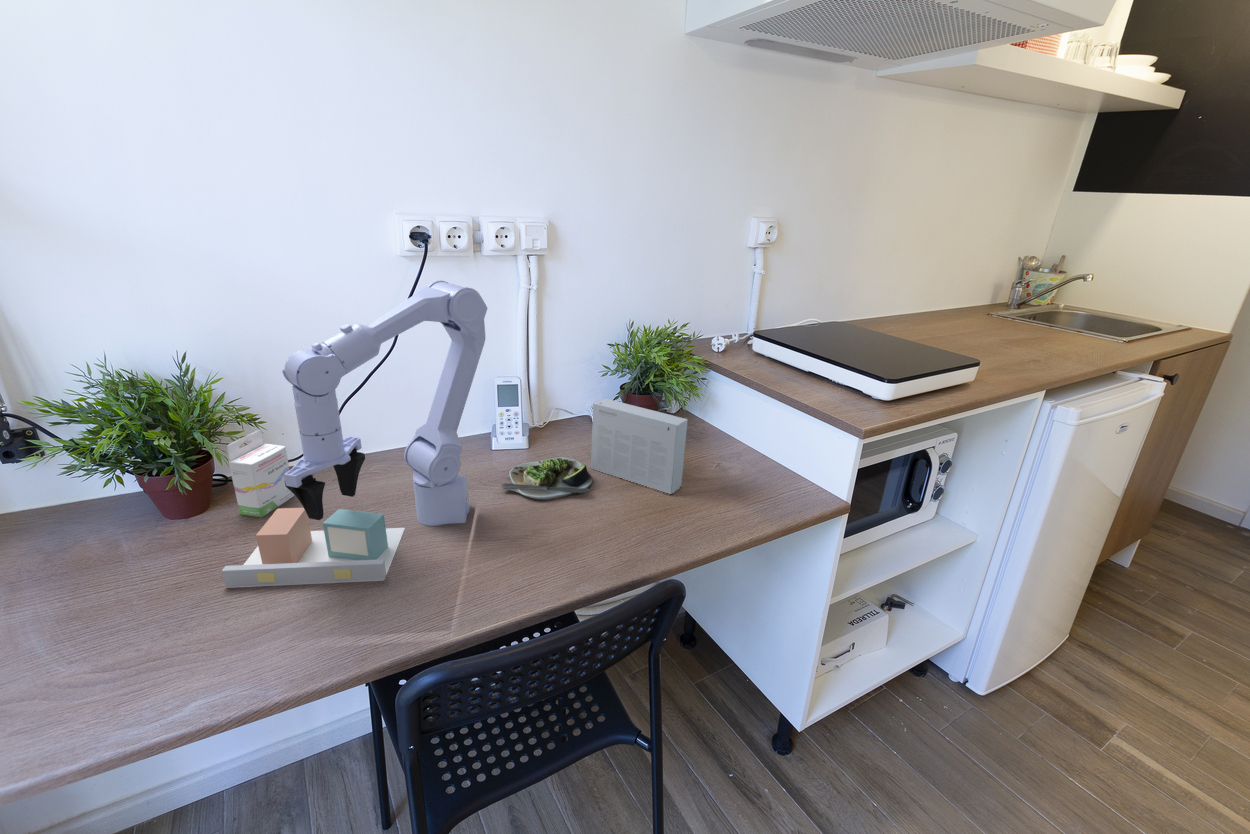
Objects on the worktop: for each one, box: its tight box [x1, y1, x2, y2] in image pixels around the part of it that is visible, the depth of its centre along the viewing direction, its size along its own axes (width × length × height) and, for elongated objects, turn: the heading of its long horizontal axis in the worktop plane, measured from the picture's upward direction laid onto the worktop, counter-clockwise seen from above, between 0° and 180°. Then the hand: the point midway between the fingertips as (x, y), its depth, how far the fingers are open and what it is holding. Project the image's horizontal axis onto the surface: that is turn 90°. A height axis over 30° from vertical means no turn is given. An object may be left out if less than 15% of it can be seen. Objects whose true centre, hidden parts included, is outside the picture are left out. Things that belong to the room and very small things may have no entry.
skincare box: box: [590, 398, 689, 495], centre depth 126 cm, size 21×6×16 cm, turn 58°
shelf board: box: [221, 527, 406, 589], centre depth 96 cm, size 23×15×4 cm, turn 98°
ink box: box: [226, 429, 295, 518], centre depth 108 cm, size 9×5×15 cm, turn 168°
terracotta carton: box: [255, 507, 312, 564], centre depth 95 cm, size 5×8×6 cm, turn 7°
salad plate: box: [500, 456, 594, 501], centre depth 124 cm, size 19×18×5 cm
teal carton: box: [322, 508, 388, 560], centre depth 97 cm, size 5×8×6 cm, turn 82°
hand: (332, 506), depth 94 cm, fingers open, 7 cm apart
